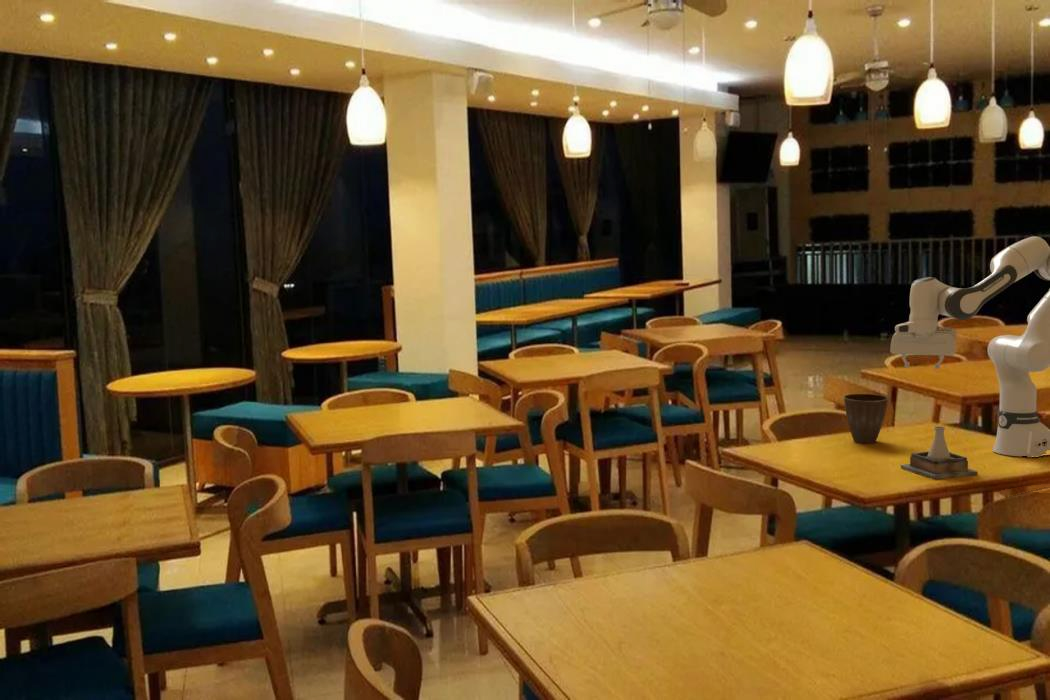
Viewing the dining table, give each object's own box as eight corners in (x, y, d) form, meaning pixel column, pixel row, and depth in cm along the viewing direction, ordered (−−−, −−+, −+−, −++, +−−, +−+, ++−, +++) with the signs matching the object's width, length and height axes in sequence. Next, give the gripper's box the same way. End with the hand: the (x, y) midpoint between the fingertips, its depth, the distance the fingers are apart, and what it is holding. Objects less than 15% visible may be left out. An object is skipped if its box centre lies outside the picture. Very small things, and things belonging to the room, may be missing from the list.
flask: (947, 456, 333) (948, 424, 331) (954, 461, 325) (955, 429, 324) (923, 456, 333) (924, 425, 332) (930, 461, 326) (931, 429, 325)
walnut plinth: (943, 463, 340) (943, 448, 339) (977, 474, 324) (978, 458, 324) (900, 468, 335) (900, 452, 335) (933, 479, 320) (933, 463, 319)
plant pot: (882, 437, 381) (883, 393, 379) (891, 446, 367) (892, 400, 365) (840, 437, 383) (840, 393, 381) (846, 445, 369) (847, 400, 367)
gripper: (957, 326, 347) (956, 367, 349) (891, 325, 355) (891, 365, 357) (956, 328, 341) (955, 370, 343) (890, 327, 349) (889, 368, 351)
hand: (922, 368), depth 350 cm, fingers open, 8 cm apart
